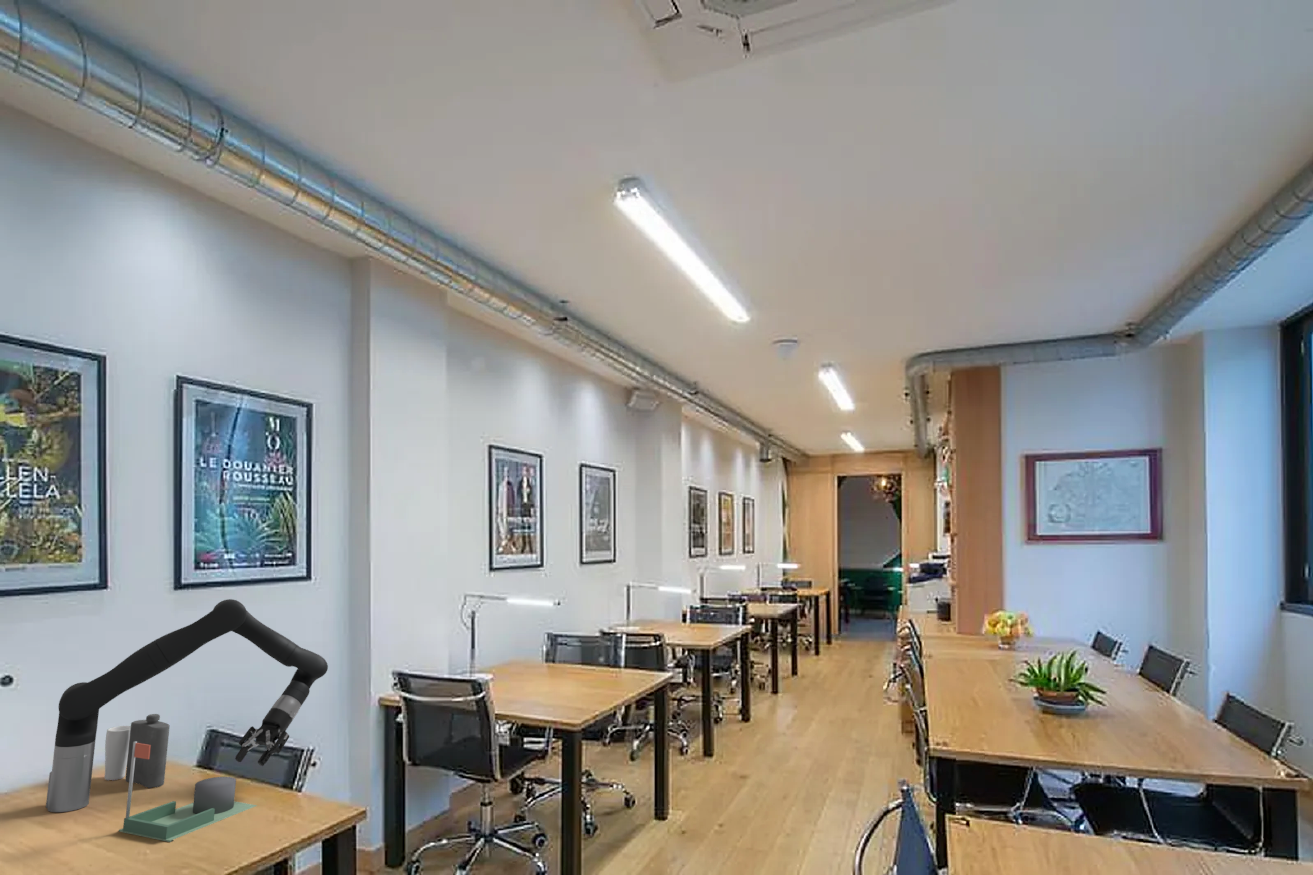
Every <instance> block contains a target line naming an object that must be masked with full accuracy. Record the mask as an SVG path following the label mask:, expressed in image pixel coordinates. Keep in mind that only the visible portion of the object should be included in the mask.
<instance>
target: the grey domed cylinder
mask: <svg viewBox="0 0 1313 875" xmlns="http://www.w3.org/2000/svg"><path fill="white" fill-rule="evenodd" d="M236 782H237V779H236V778H234V777H231V776H216V777H210V778H205V779H202V780H201V779H200V780H199V781H197V782H195V784H194V793H193V802H192V803H193V813H194V814H198V813H201V812H203V811H206V810H209V809H211V808H214V809H215V812H214V814H219V813H223V812H226V811H228V810H230V809H232V808H233V807H234V801H235V796H236V784H237V783H236Z"/></svg>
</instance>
